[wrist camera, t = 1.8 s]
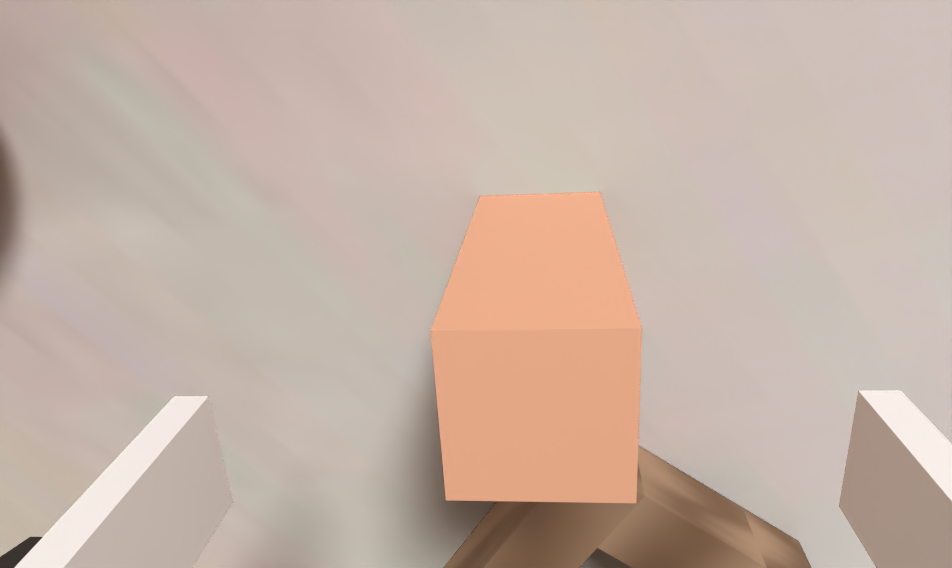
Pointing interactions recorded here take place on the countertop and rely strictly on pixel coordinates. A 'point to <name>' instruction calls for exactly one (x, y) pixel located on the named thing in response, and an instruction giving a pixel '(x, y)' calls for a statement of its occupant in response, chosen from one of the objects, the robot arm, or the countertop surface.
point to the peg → (538, 356)
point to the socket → (632, 530)
